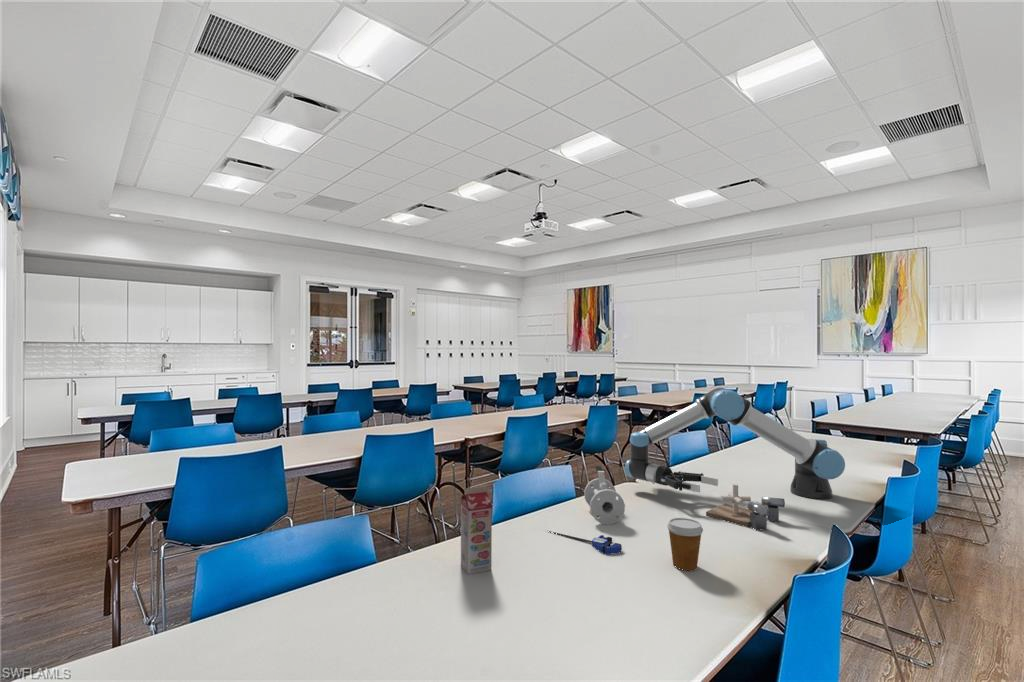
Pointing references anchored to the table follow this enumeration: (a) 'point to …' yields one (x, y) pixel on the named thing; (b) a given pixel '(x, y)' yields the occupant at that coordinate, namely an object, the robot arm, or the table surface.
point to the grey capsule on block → (773, 507)
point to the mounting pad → (731, 514)
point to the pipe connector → (735, 498)
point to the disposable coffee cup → (685, 542)
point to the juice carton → (476, 530)
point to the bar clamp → (600, 543)
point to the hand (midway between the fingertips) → (708, 485)
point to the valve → (604, 500)
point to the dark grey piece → (758, 516)
